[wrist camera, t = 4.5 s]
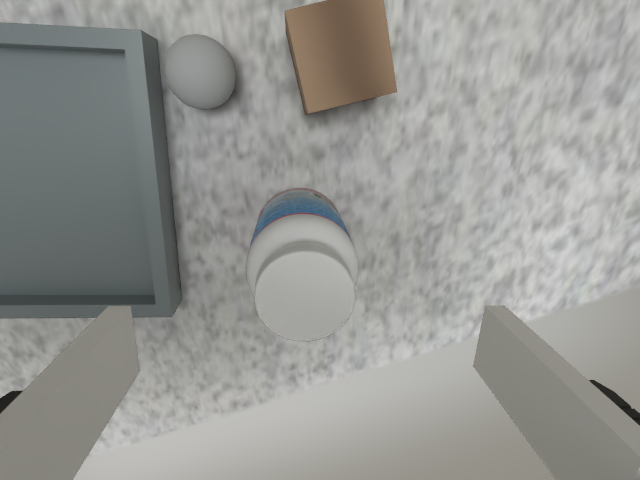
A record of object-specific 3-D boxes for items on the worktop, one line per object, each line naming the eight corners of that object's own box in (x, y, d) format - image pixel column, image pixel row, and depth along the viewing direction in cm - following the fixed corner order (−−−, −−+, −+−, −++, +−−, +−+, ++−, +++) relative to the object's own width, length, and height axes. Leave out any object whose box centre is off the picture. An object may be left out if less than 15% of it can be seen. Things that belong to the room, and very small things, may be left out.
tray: (-70, 301, 27) (-106, 319, 24) (-166, 22, 21) (-224, 10, 19) (182, 300, 28) (171, 317, 26) (157, 39, 22) (140, 30, 20)
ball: (179, 108, 24) (158, 107, 20) (173, 40, 22) (149, 24, 19) (241, 111, 24) (231, 110, 20) (239, 43, 23) (228, 29, 19)
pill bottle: (243, 208, 26) (210, 270, 16) (320, 172, 26) (340, 211, 15) (280, 277, 28) (273, 374, 17) (352, 245, 28) (390, 324, 17)
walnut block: (304, 114, 24) (308, 113, 20) (285, 33, 23) (284, 10, 18) (376, 97, 24) (397, 91, 20) (362, 14, 23) (381, -14, 18)
